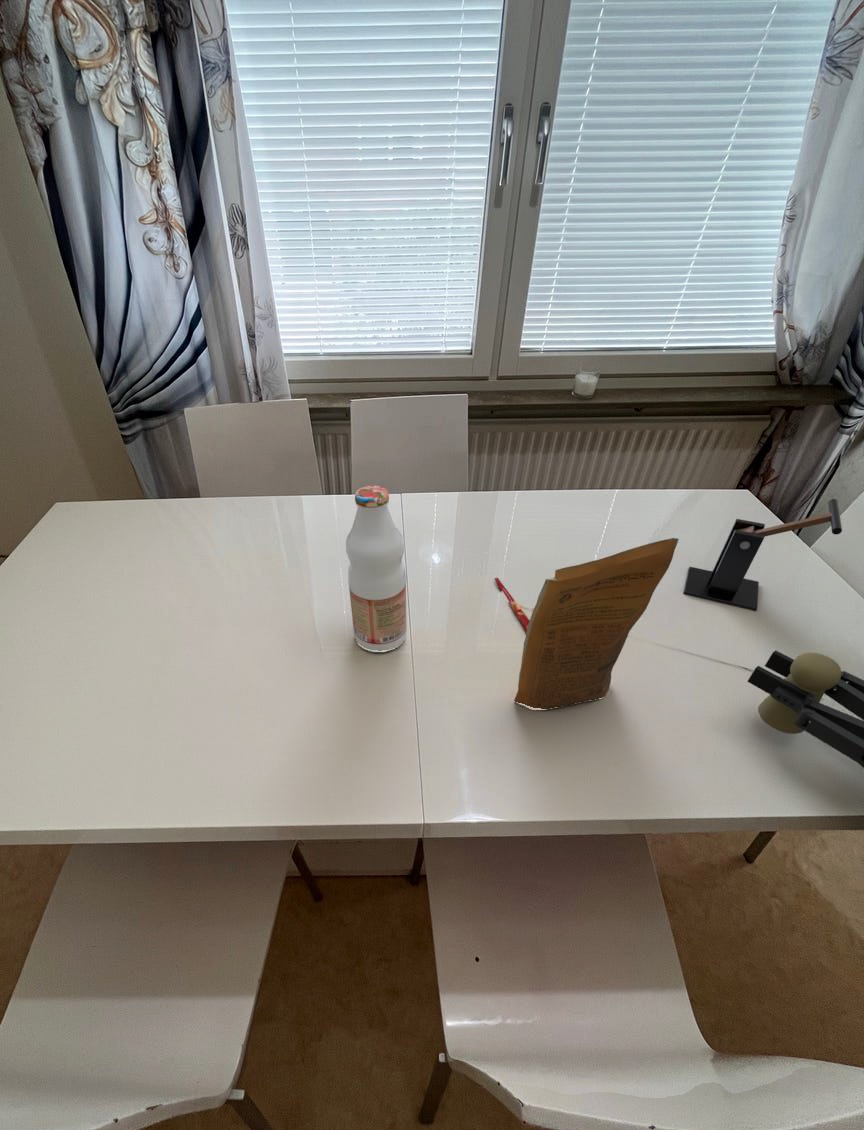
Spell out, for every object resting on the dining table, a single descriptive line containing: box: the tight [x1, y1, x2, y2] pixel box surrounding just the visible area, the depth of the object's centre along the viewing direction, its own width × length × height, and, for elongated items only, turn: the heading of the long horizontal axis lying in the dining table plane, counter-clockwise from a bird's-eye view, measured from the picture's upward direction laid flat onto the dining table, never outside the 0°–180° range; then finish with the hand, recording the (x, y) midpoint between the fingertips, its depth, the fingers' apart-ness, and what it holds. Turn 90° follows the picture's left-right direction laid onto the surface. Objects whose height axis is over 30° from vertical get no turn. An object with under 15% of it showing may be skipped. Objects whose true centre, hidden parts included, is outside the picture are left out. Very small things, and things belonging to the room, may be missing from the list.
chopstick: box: [494, 577, 530, 632], centre depth 97 cm, size 2×24×1 cm, turn 14°
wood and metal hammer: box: [739, 498, 843, 538], centre depth 89 cm, size 14×10×2 cm
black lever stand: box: [683, 518, 766, 612], centre depth 96 cm, size 12×9×14 cm
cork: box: [757, 651, 842, 735], centre depth 71 cm, size 6×6×11 cm
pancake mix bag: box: [513, 537, 680, 709], centre depth 74 cm, size 7×19×28 cm, turn 102°
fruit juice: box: [345, 485, 408, 651], centre depth 86 cm, size 9×9×28 cm
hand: (761, 666), depth 74 cm, fingers closed on cork, 4 cm apart
